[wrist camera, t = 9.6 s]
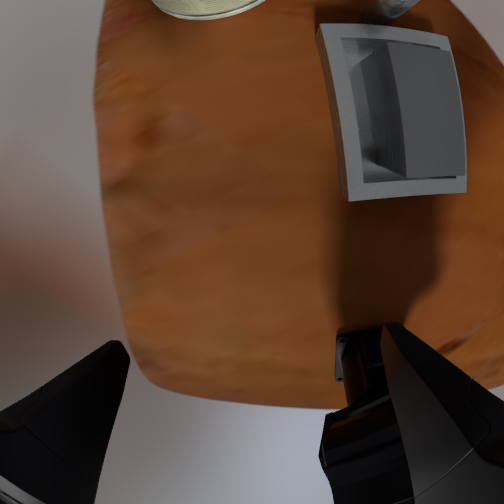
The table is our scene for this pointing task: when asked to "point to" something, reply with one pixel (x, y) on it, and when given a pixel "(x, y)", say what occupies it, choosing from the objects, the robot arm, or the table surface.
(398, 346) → the robot arm
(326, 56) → the keeper cradle
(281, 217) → the table surface
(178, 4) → the coffee can
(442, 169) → the block
